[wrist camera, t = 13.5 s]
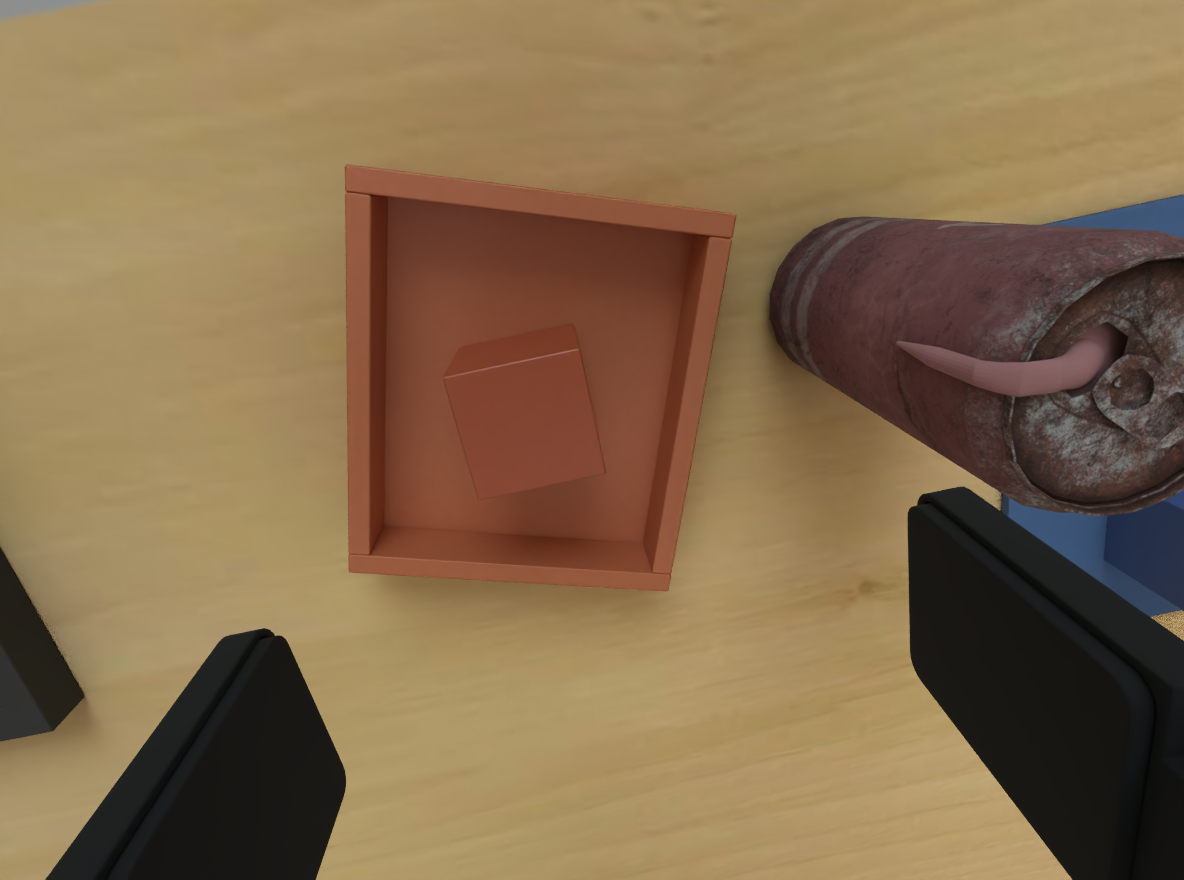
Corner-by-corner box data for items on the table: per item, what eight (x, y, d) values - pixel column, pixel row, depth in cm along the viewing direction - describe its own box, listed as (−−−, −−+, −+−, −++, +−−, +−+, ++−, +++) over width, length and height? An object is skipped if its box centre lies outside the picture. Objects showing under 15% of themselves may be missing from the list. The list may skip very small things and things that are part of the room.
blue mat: (1009, 231, 26) (1018, 232, 25) (1258, 178, 26) (1271, 177, 25) (997, 642, 33) (1004, 648, 32) (1192, 600, 33) (1202, 606, 32)
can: (760, 222, 25) (1010, 246, 12) (922, 212, 25) (1343, 224, 12) (755, 377, 27) (962, 545, 14) (905, 366, 27) (1246, 520, 14)
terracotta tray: (368, 168, 23) (344, 164, 20) (713, 212, 24) (737, 213, 22) (367, 534, 28) (348, 572, 25) (655, 553, 29) (668, 592, 26)
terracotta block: (457, 347, 25) (441, 377, 21) (573, 322, 25) (580, 347, 21) (487, 454, 26) (477, 502, 22) (595, 430, 26) (606, 474, 22)
